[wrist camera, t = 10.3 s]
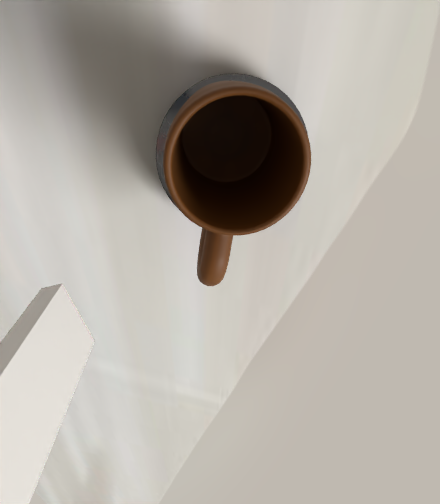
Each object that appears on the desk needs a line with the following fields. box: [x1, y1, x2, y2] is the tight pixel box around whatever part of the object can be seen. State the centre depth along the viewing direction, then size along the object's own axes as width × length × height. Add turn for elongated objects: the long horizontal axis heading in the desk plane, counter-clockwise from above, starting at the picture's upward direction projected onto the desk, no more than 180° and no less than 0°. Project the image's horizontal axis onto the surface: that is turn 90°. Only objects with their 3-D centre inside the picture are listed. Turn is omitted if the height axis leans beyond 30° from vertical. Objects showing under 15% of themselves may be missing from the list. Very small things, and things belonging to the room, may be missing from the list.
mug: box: [163, 81, 311, 286], centre depth 21 cm, size 12×8×9 cm, turn 169°
